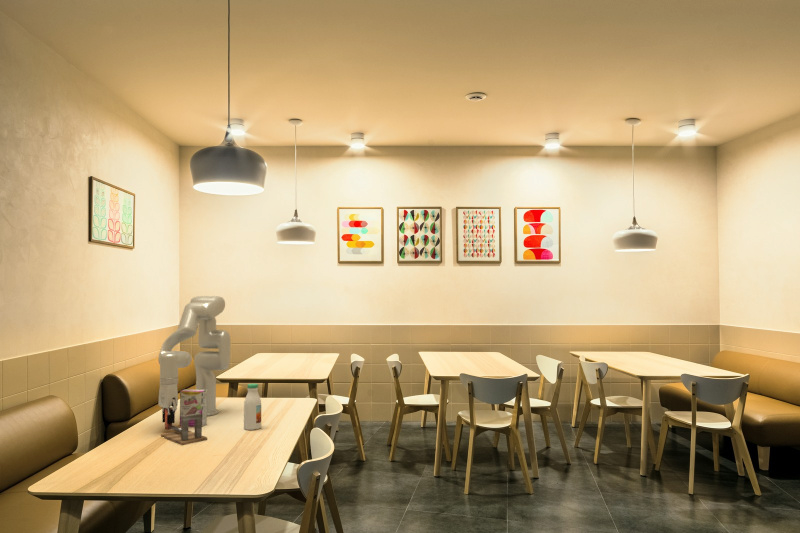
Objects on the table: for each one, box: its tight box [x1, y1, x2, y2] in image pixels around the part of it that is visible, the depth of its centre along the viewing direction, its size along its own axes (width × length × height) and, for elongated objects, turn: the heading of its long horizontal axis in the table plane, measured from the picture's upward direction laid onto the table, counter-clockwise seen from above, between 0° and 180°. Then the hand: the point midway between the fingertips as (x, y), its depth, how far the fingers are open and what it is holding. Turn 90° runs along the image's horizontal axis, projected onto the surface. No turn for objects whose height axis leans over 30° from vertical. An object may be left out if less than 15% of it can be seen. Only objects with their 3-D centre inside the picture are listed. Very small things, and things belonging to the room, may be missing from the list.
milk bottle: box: [243, 383, 262, 431], centre depth 254 cm, size 8×8×20 cm
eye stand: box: [160, 413, 208, 446], centre depth 237 cm, size 20×11×11 cm, turn 46°
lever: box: [164, 408, 181, 433], centre depth 243 cm, size 17×3×9 cm, turn 46°
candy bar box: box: [179, 388, 208, 428], centre depth 259 cm, size 11×5×16 cm, turn 84°
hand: (168, 422), depth 248 cm, fingers open, 4 cm apart
